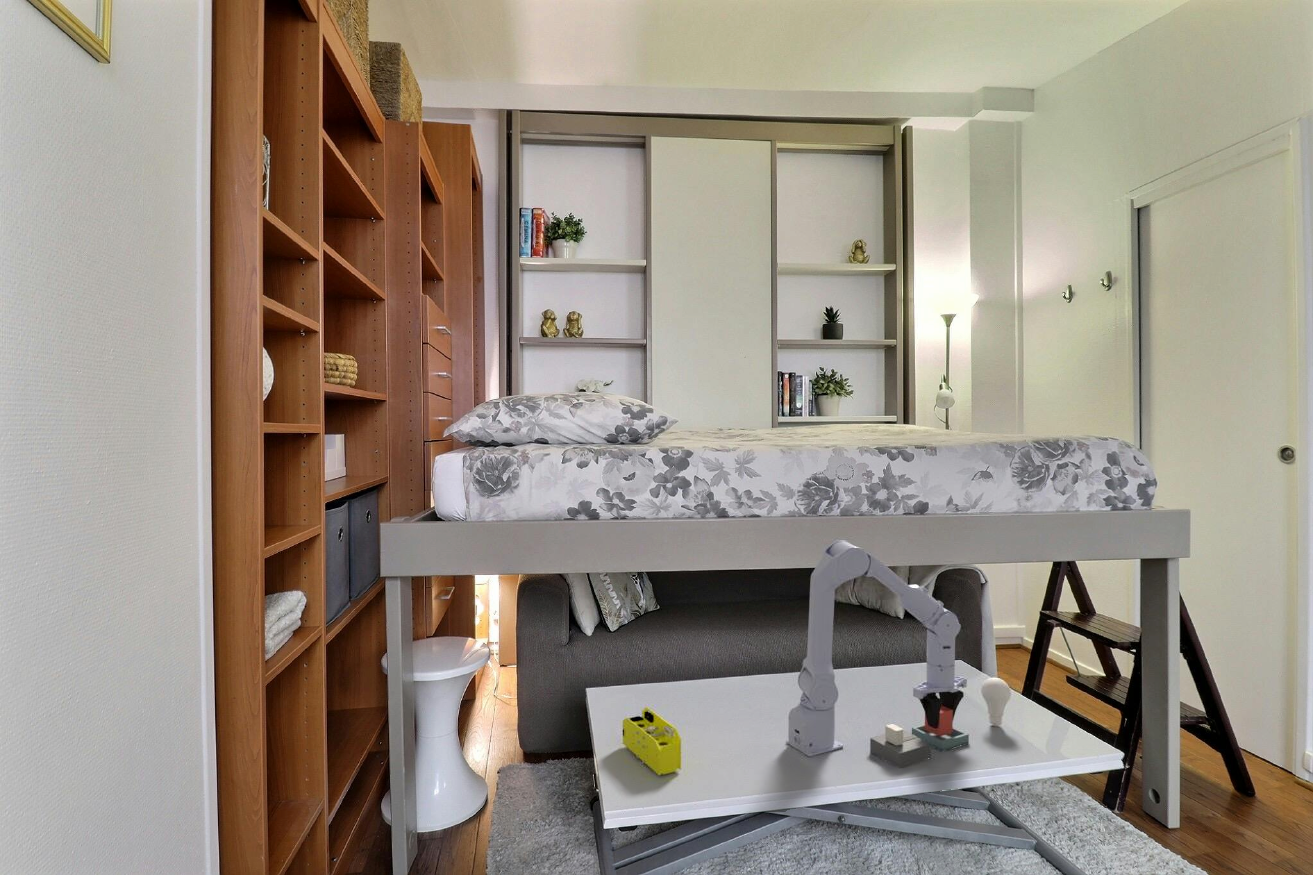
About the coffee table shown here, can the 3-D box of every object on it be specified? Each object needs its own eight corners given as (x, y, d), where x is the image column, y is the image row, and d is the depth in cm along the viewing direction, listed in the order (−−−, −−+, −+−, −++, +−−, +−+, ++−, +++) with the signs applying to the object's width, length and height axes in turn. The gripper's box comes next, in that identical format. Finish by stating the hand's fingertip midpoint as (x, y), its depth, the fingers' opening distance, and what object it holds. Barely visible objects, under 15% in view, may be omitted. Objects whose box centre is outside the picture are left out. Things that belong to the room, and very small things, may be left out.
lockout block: (939, 736, 155) (939, 713, 155) (924, 729, 159) (925, 706, 159) (952, 732, 157) (952, 709, 157) (937, 725, 161) (937, 703, 161)
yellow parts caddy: (683, 772, 144) (683, 731, 143) (658, 779, 141) (658, 737, 141) (644, 741, 158) (644, 703, 157) (621, 747, 155) (621, 708, 155)
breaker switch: (896, 745, 148) (896, 731, 148) (885, 739, 151) (885, 725, 151) (903, 743, 149) (903, 729, 149) (892, 737, 152) (892, 723, 151)
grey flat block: (899, 768, 145) (899, 752, 145) (870, 751, 152) (870, 737, 152) (930, 758, 149) (931, 743, 149) (901, 742, 156) (901, 728, 156)
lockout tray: (942, 751, 152) (942, 742, 152) (911, 736, 159) (911, 727, 159) (968, 743, 156) (968, 734, 156) (937, 728, 163) (937, 720, 163)
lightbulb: (979, 728, 163) (980, 680, 163) (981, 718, 169) (982, 671, 169) (1009, 733, 161) (1010, 684, 160) (1010, 723, 166) (1011, 676, 166)
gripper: (931, 674, 150) (931, 738, 151) (978, 662, 157) (978, 724, 157) (905, 663, 156) (905, 725, 157) (951, 653, 163) (951, 712, 164)
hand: (940, 724), depth 158 cm, fingers closed on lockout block, 4 cm apart
